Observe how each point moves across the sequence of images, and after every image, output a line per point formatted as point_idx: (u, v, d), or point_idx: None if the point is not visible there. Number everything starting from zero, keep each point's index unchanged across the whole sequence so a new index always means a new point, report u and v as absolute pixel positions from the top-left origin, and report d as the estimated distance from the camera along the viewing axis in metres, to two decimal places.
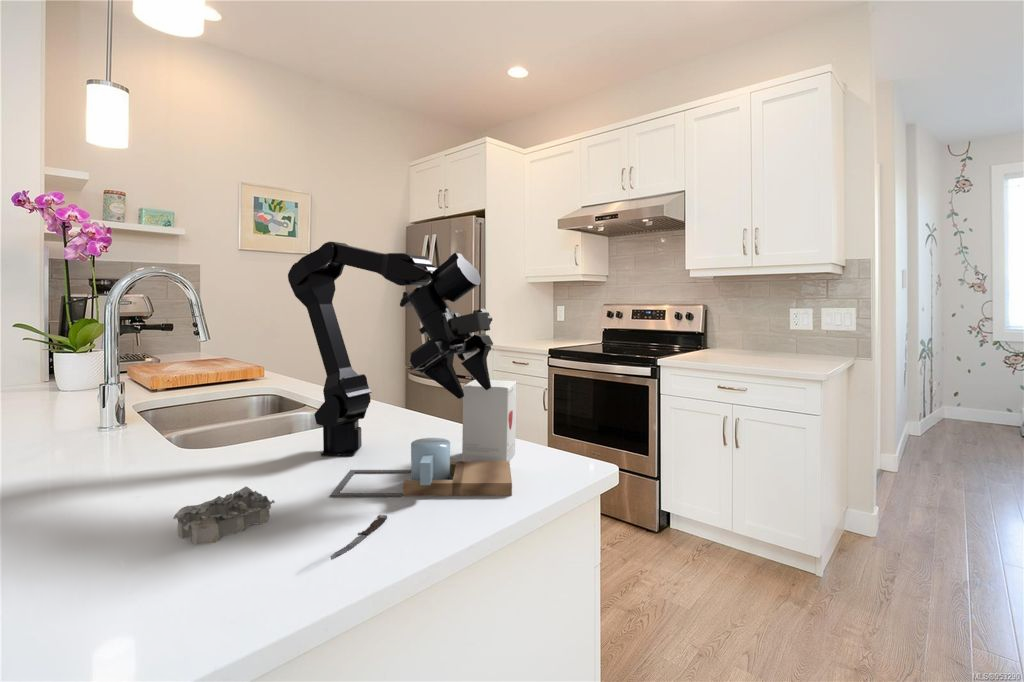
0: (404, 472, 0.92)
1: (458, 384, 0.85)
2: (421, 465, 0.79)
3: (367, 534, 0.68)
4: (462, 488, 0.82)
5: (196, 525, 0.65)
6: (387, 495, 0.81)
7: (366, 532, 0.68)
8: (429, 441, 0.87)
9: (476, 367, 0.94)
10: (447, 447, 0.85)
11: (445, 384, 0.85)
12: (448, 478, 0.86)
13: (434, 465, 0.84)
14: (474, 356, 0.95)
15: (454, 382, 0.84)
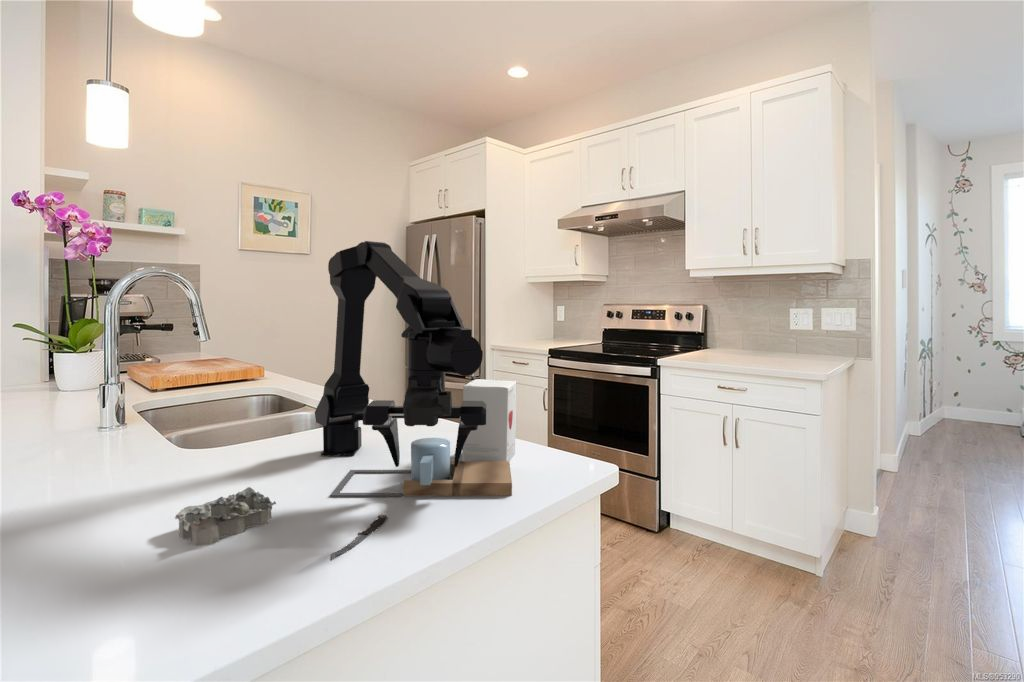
0: (404, 472, 0.92)
1: (393, 455, 0.80)
2: (421, 465, 0.79)
3: (367, 534, 0.68)
4: (462, 488, 0.82)
5: (196, 526, 0.64)
6: (387, 495, 0.81)
7: (366, 532, 0.68)
8: (429, 441, 0.87)
9: None
10: (447, 447, 0.85)
11: None
12: (448, 478, 0.86)
13: (434, 465, 0.84)
14: (459, 425, 0.81)
15: (390, 451, 0.80)
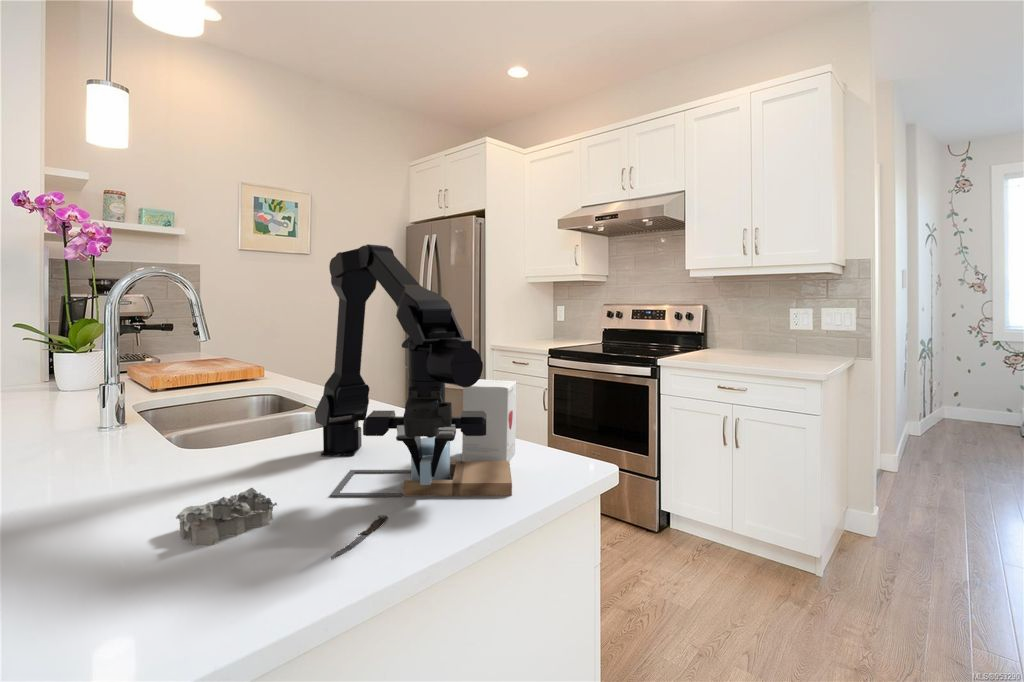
0: (404, 472, 0.92)
1: (416, 465, 0.81)
2: (421, 465, 0.79)
3: (367, 534, 0.68)
4: (462, 488, 0.82)
5: (195, 526, 0.64)
6: (387, 495, 0.81)
7: (366, 532, 0.68)
8: (429, 441, 0.87)
9: None
10: (447, 447, 0.85)
11: None
12: (448, 478, 0.86)
13: None
14: None
15: (414, 461, 0.81)
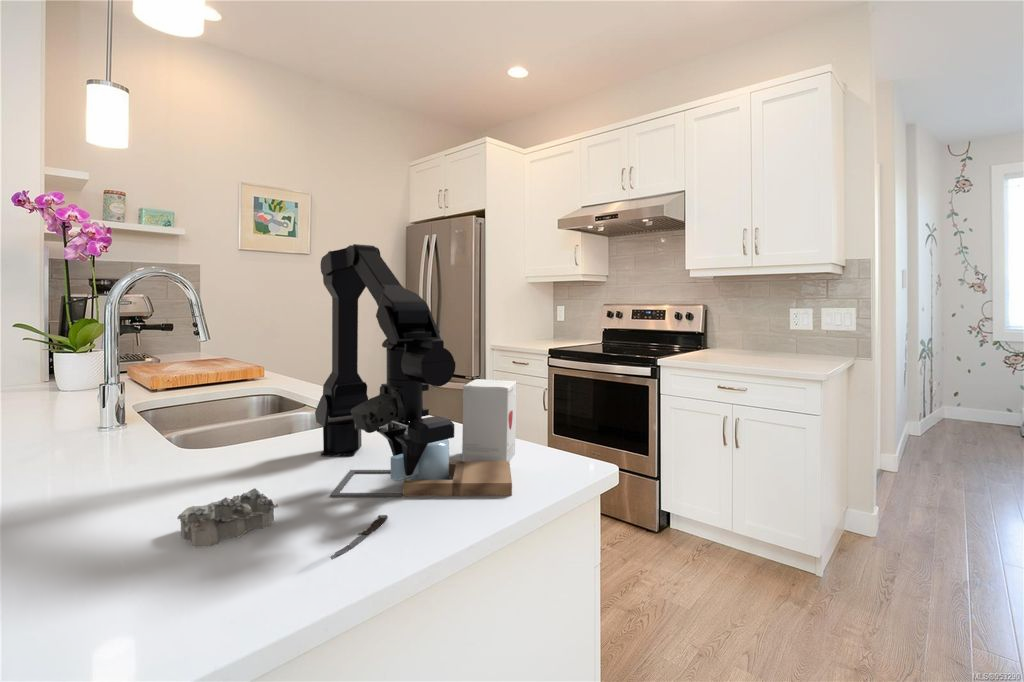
0: None
1: None
2: (391, 459, 0.82)
3: (367, 534, 0.68)
4: (462, 488, 0.82)
5: (195, 527, 0.64)
6: (387, 495, 0.81)
7: (366, 532, 0.68)
8: None
9: None
10: (434, 449, 0.84)
11: None
12: None
13: (419, 464, 0.84)
14: None
15: None
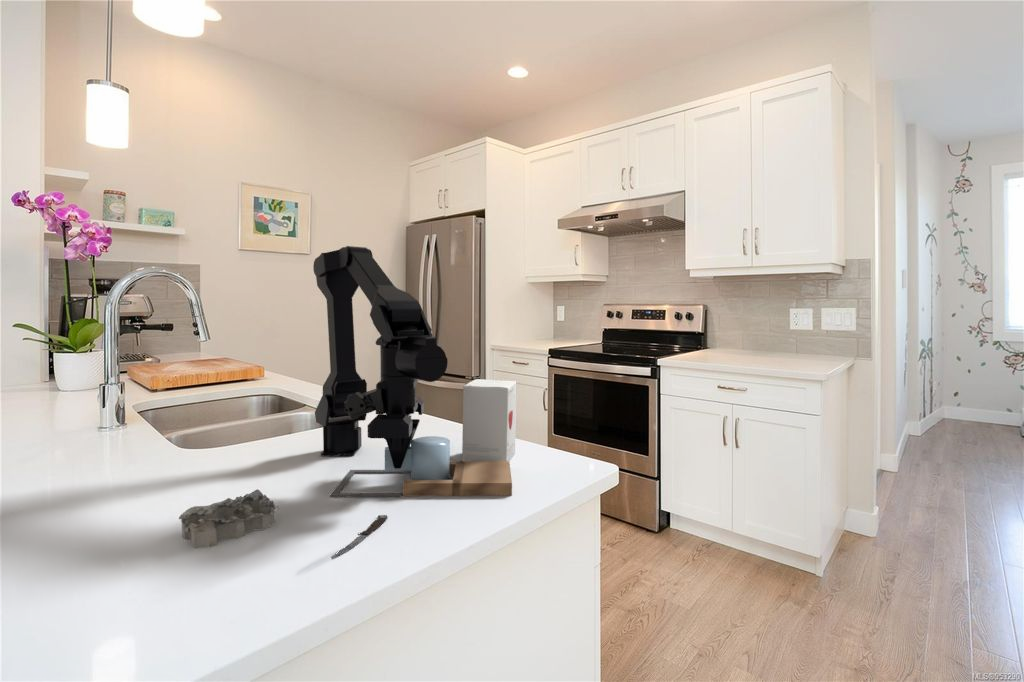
0: (404, 472, 0.92)
1: None
2: (385, 449, 0.87)
3: (367, 534, 0.68)
4: (462, 488, 0.82)
5: (194, 528, 0.64)
6: (387, 495, 0.81)
7: (366, 532, 0.68)
8: (435, 440, 0.88)
9: None
10: (421, 448, 0.84)
11: None
12: None
13: (411, 460, 0.86)
14: None
15: None
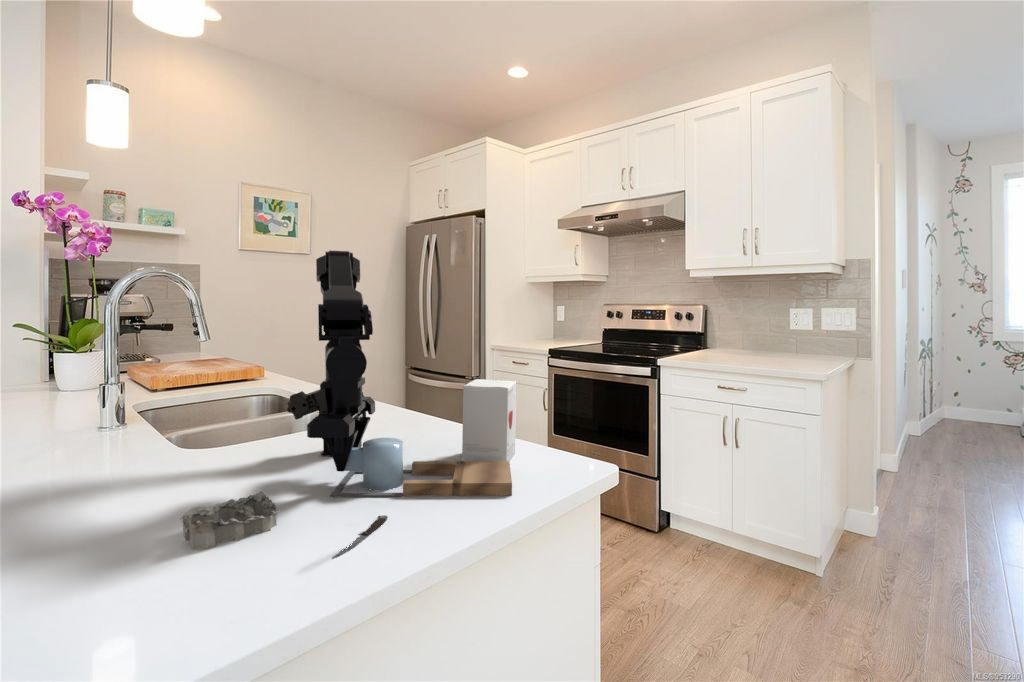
0: (404, 472, 0.92)
1: None
2: None
3: (367, 534, 0.68)
4: (462, 488, 0.82)
5: (193, 529, 0.64)
6: (387, 495, 0.81)
7: (366, 532, 0.68)
8: (388, 442, 0.87)
9: None
10: (369, 449, 0.83)
11: None
12: (373, 483, 0.84)
13: (362, 461, 0.85)
14: None
15: None
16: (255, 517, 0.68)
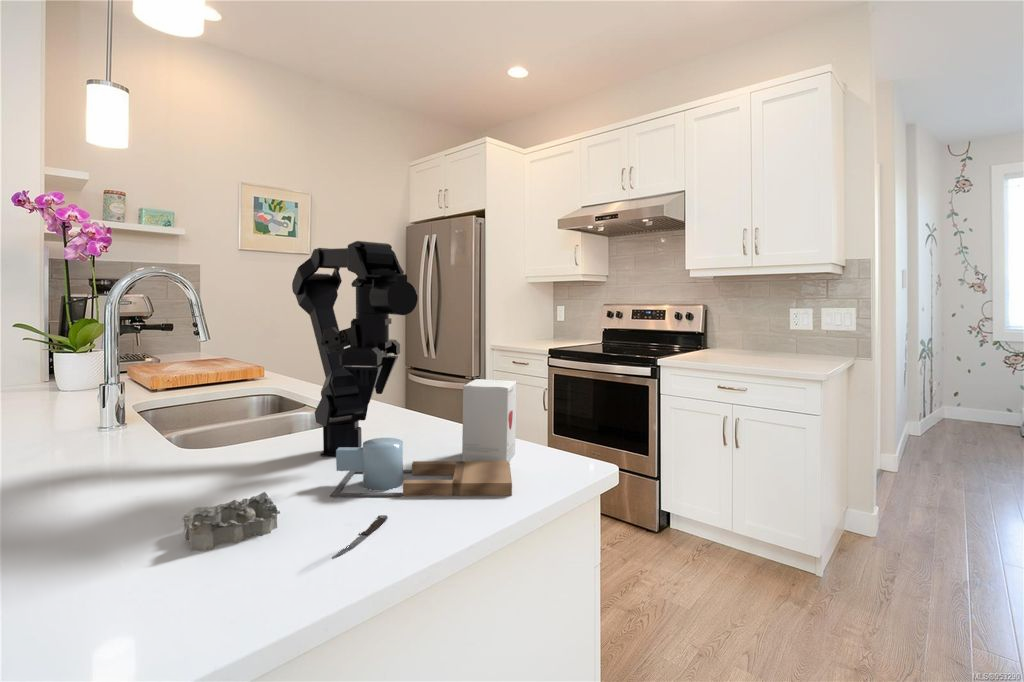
0: (404, 472, 0.92)
1: None
2: None
3: (368, 534, 0.68)
4: (462, 488, 0.82)
5: (191, 530, 0.63)
6: (387, 495, 0.81)
7: (367, 532, 0.68)
8: (388, 442, 0.87)
9: None
10: (370, 449, 0.83)
11: None
12: (373, 483, 0.84)
13: (362, 461, 0.85)
14: None
15: None
16: (255, 519, 0.67)
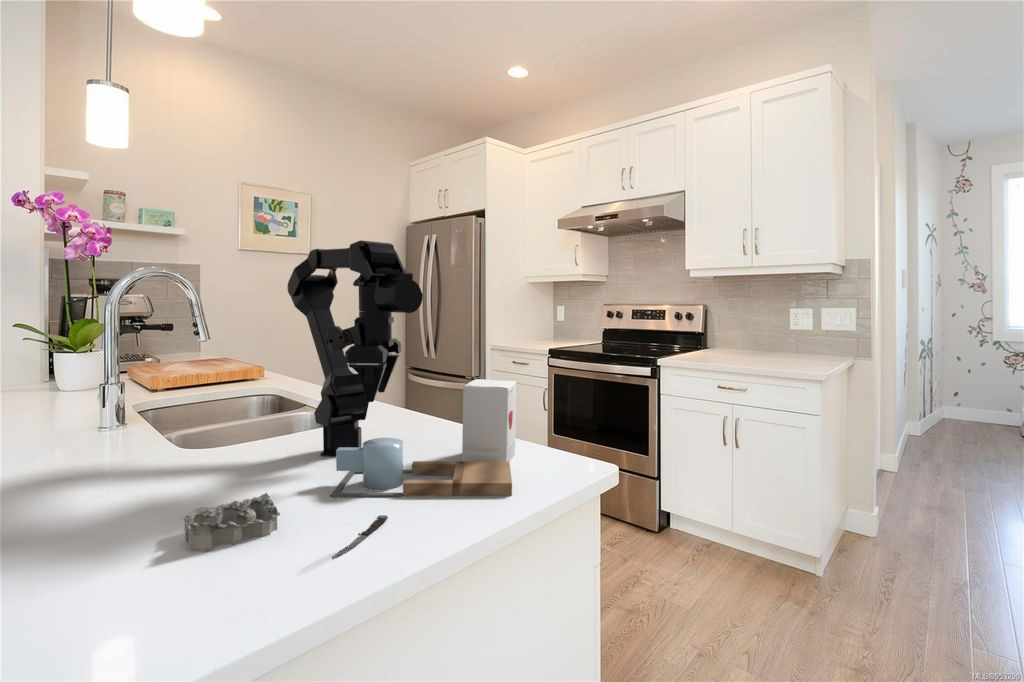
0: (404, 472, 0.92)
1: None
2: None
3: (368, 534, 0.68)
4: (462, 488, 0.82)
5: (191, 531, 0.63)
6: (387, 495, 0.81)
7: (367, 532, 0.68)
8: (388, 442, 0.87)
9: None
10: (370, 449, 0.83)
11: None
12: (373, 483, 0.84)
13: (362, 461, 0.85)
14: None
15: None
16: (254, 521, 0.67)
